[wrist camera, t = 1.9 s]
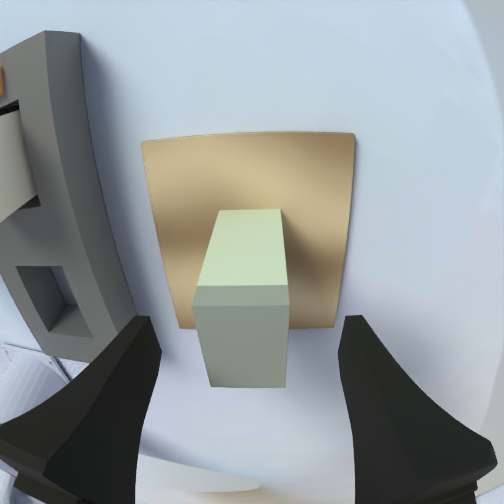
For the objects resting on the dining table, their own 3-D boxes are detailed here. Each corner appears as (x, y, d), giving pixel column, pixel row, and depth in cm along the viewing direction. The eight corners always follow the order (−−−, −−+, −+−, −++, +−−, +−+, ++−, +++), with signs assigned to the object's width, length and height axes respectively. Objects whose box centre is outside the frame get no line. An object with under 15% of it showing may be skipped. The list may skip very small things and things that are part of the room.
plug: (280, 282, 18) (285, 387, 12) (226, 283, 18) (211, 386, 12) (280, 208, 15) (289, 304, 9) (219, 210, 16) (191, 305, 10)
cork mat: (332, 323, 20) (333, 327, 20) (180, 324, 20) (179, 328, 20) (353, 133, 14) (355, 134, 13) (143, 141, 14) (141, 143, 14)
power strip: (145, 337, 21) (132, 374, 18) (60, 328, 22) (42, 359, 19) (79, 33, 11) (38, 30, 8) (-17, 78, 11) (-56, 88, 8)
